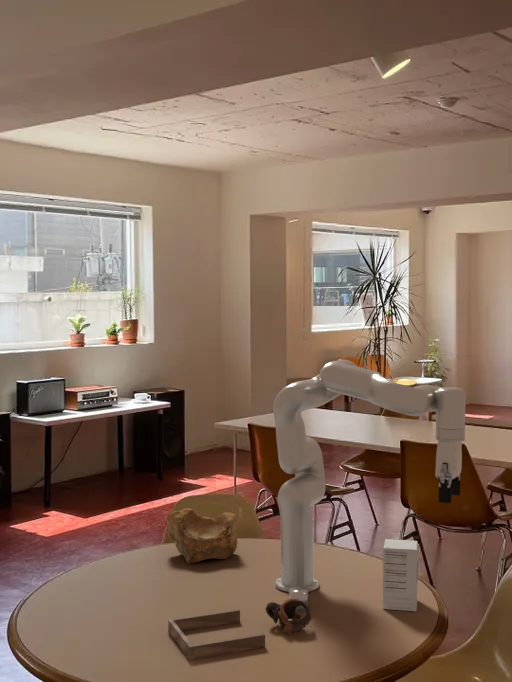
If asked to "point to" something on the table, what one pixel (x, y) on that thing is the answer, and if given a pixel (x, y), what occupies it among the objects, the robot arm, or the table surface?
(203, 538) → the rough brown rock
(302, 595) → the grey tin
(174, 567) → the table surface
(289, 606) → the pottery mug
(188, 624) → the display frame
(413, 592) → the supplement box
